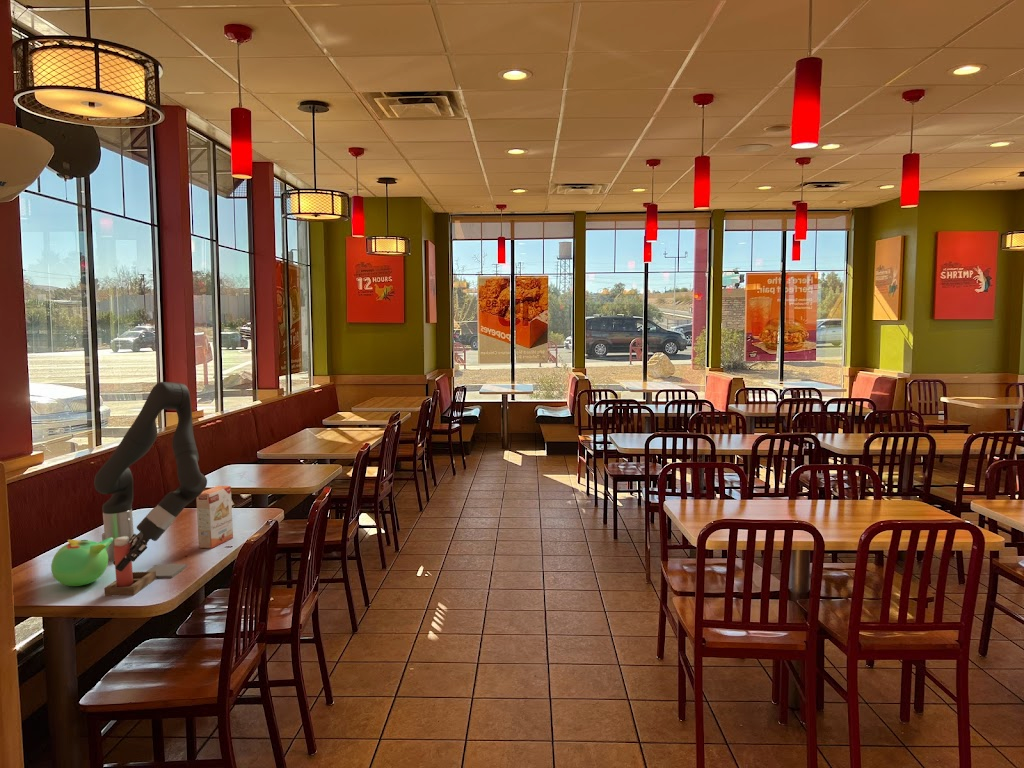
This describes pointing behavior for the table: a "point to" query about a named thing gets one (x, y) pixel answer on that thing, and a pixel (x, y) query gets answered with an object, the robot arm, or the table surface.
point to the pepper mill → (120, 550)
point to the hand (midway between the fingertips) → (116, 567)
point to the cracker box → (214, 516)
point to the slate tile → (167, 570)
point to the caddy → (138, 584)
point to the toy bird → (80, 562)
